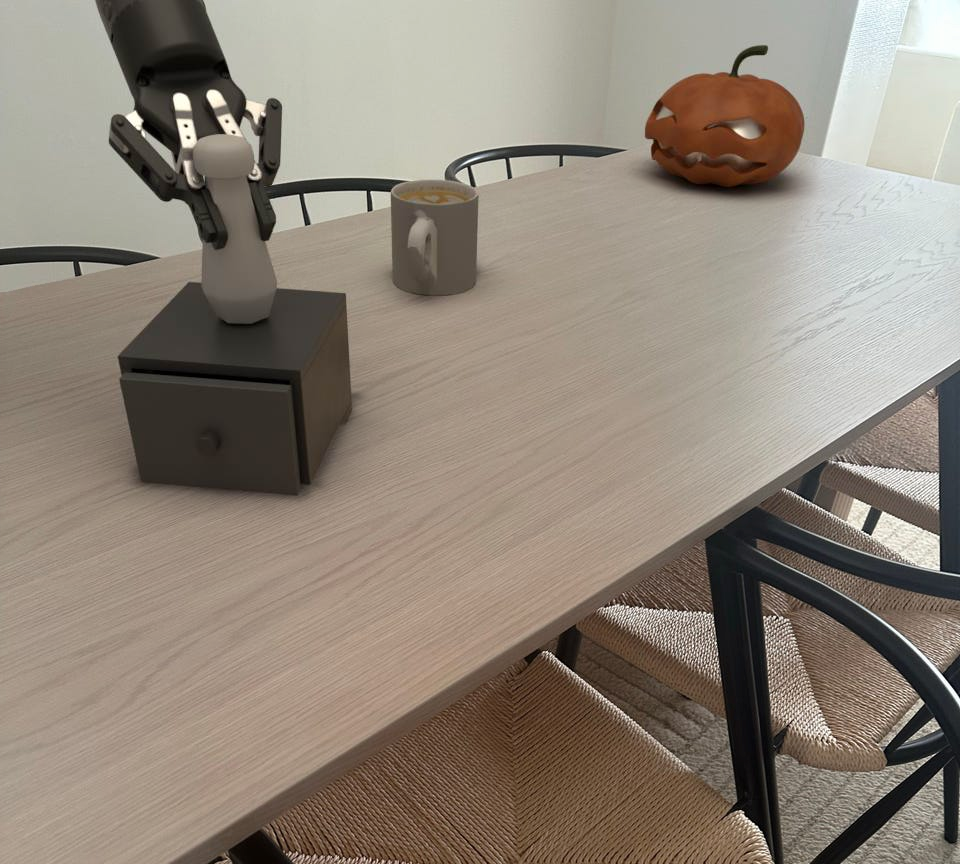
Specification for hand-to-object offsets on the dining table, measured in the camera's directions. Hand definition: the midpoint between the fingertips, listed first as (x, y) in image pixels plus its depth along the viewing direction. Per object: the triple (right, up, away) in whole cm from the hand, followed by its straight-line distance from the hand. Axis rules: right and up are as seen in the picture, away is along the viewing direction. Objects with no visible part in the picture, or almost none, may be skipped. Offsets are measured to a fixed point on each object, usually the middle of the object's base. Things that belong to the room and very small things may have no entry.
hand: (243, 239), depth 74 cm
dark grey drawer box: (-2, -13, +11) cm, 18 cm away
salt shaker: (-1, -4, +5) cm, 7 cm away
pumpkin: (+55, +43, +83) cm, 109 cm away
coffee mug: (+12, +12, +43) cm, 46 cm away
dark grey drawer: (-2, -14, +9) cm, 17 cm away
